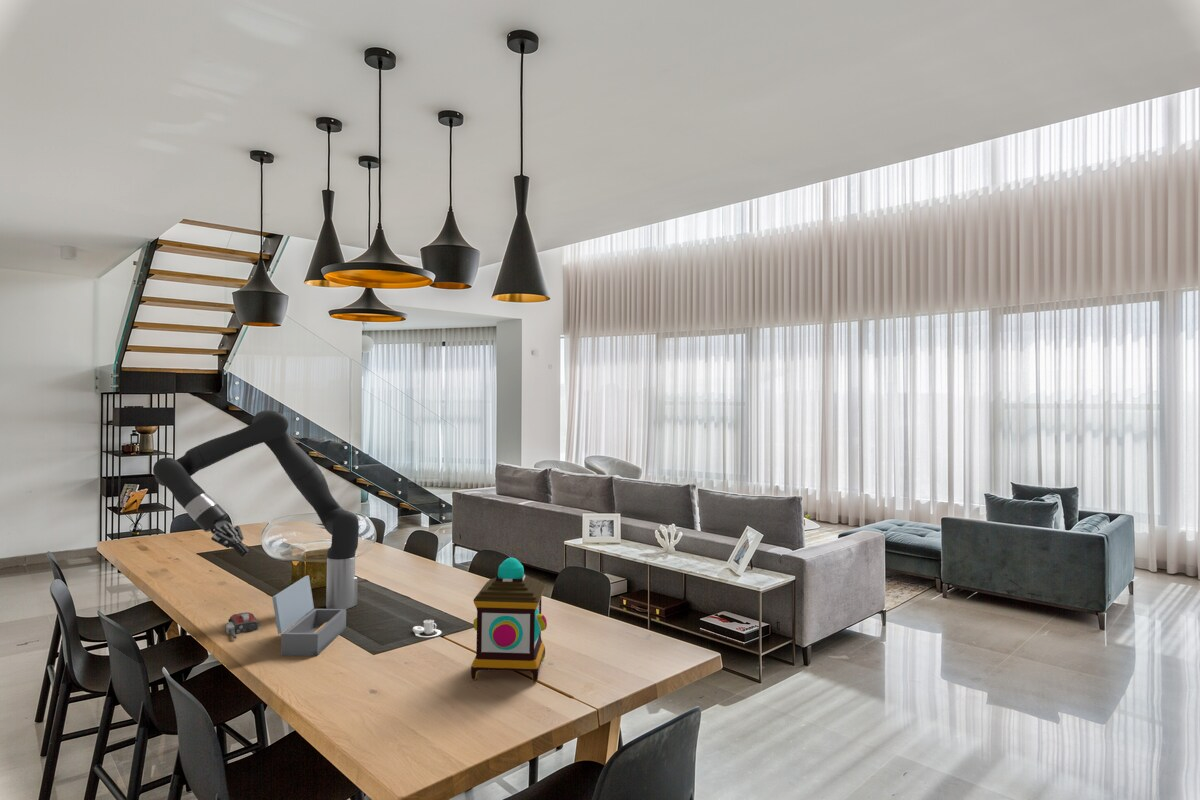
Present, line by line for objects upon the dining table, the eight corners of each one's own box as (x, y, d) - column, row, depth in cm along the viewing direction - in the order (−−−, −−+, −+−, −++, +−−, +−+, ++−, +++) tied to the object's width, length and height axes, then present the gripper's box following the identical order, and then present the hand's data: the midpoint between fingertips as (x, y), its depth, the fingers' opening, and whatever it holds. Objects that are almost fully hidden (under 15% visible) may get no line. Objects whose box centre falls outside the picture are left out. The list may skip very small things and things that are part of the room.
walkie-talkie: (221, 624, 221) (230, 642, 205) (221, 610, 221) (231, 627, 205) (252, 620, 226) (263, 637, 210) (252, 606, 226) (263, 622, 210)
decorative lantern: (480, 654, 198) (482, 549, 198) (549, 656, 197) (551, 550, 198) (464, 683, 178) (466, 565, 178) (541, 685, 177) (543, 567, 178)
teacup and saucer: (408, 633, 216) (408, 620, 216) (430, 628, 222) (430, 615, 222) (424, 640, 210) (424, 627, 210) (446, 634, 216) (446, 621, 216)
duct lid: (281, 633, 195) (278, 633, 195) (314, 608, 219) (310, 608, 219) (275, 596, 195) (272, 597, 195) (308, 575, 219) (305, 575, 219)
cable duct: (281, 655, 195) (281, 634, 195) (313, 627, 219) (314, 608, 219) (317, 655, 195) (317, 634, 195) (345, 628, 219) (346, 609, 219)
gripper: (203, 506, 201) (244, 550, 201) (226, 500, 214) (265, 541, 214) (183, 524, 201) (225, 568, 201) (208, 517, 214) (247, 558, 214)
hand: (246, 554), depth 208 cm, fingers closed
